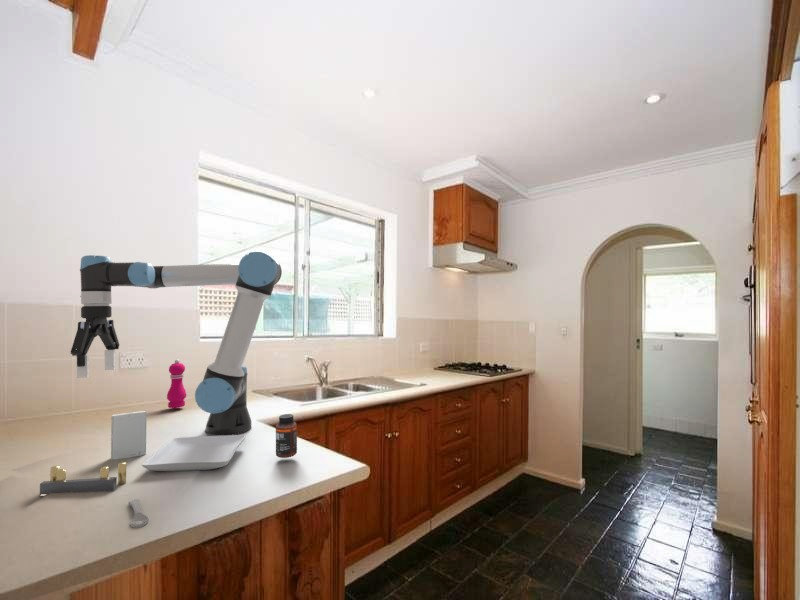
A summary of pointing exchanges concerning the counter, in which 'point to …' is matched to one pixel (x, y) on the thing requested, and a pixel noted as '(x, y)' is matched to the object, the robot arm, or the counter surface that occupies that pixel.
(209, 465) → the salad plate
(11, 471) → the counter surface
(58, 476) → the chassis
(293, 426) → the supplement bottle
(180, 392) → the pepper mill
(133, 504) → the spoon
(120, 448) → the external hard drive
